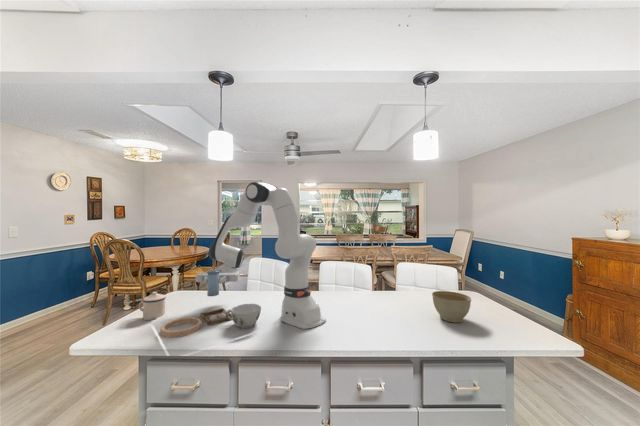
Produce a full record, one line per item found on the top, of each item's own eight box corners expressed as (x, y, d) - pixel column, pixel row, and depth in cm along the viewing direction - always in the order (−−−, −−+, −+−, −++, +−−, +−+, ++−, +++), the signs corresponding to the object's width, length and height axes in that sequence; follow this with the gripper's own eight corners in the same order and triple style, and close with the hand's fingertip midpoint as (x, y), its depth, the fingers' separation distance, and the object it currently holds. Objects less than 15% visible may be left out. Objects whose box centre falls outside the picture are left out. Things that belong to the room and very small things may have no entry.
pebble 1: (217, 322, 109) (217, 315, 110) (210, 324, 107) (210, 317, 108) (215, 320, 112) (215, 313, 112) (208, 321, 110) (208, 315, 110)
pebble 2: (227, 319, 112) (227, 313, 112) (220, 321, 110) (220, 314, 110) (224, 318, 114) (224, 311, 114) (217, 319, 112) (217, 313, 112)
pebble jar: (220, 294, 115) (221, 271, 115) (209, 297, 112) (209, 272, 112) (216, 292, 119) (217, 269, 119) (205, 294, 116) (205, 270, 116)
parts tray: (234, 320, 113) (234, 315, 113) (209, 327, 106) (209, 322, 106) (223, 312, 123) (223, 308, 123) (199, 318, 116) (199, 313, 116)
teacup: (265, 321, 112) (265, 303, 113) (254, 334, 100) (254, 314, 100) (234, 319, 115) (234, 302, 115) (219, 331, 102) (219, 311, 102)
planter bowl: (477, 327, 107) (477, 302, 107) (437, 324, 110) (437, 299, 110) (463, 313, 122) (463, 291, 123) (428, 311, 125) (428, 289, 126)
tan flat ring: (205, 331, 102) (205, 324, 102) (165, 342, 93) (165, 335, 93) (195, 320, 113) (195, 315, 113) (158, 330, 103) (158, 323, 103)
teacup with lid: (169, 313, 122) (170, 289, 122) (156, 321, 113) (156, 295, 113) (146, 312, 122) (146, 289, 123) (131, 320, 113) (131, 294, 114)
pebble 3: (229, 317, 115) (229, 310, 115) (222, 318, 113) (222, 312, 113) (226, 315, 118) (226, 308, 118) (220, 316, 115) (220, 310, 116)
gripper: (202, 268, 128) (189, 274, 114) (242, 267, 129) (234, 273, 115) (202, 280, 128) (189, 288, 114) (242, 280, 129) (234, 287, 115)
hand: (212, 280), depth 115 cm, fingers closed on pebble jar, 5 cm apart
